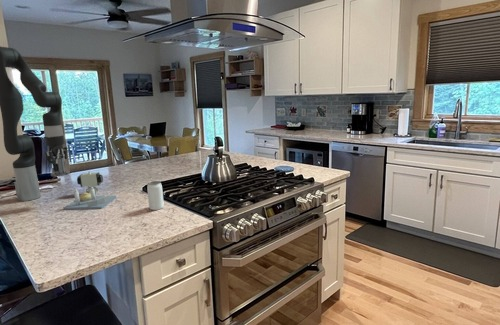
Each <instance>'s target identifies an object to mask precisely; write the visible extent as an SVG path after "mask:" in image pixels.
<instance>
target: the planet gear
mask: <svg viewBox="0 0 500 325" xmlns="http://www.w3.org/2000/svg"><path fill="white" fill-rule="evenodd" d="M54 160H55V159H54ZM64 162H65V161H64V158H61V157H60V158H59V159H58V166H59V171H58V172H55V171H54V170H53V172H51V174H50V176H51V177H54V178H57V177H64V176H69V175H70V173H71V172H70V171H69V170H66V165H65V164H66V163H65V164H64Z"/></svg>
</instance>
